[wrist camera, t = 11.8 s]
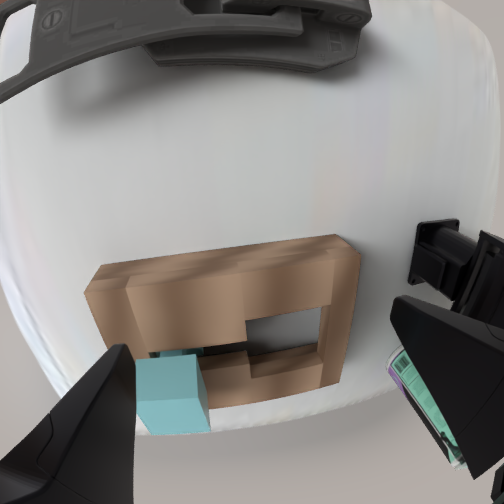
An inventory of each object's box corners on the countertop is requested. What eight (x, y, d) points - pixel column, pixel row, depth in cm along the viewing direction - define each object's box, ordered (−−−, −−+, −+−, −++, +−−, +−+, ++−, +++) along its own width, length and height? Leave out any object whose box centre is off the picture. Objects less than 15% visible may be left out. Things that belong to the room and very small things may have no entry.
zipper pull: (-23, 11, 3) (380, -50, 7) (22, 30, 9) (336, -16, 13) (-37, 133, 7) (409, 62, 10) (19, 128, 13) (352, 77, 16)
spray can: (380, 376, 31) (455, 491, 13) (392, 346, 28) (484, 471, 10) (411, 364, 31) (486, 465, 13) (423, 335, 29) (513, 441, 11)
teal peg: (194, 305, 21) (197, 397, 13) (202, 343, 23) (210, 431, 15) (146, 311, 21) (129, 401, 13) (158, 347, 22) (151, 434, 14)
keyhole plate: (335, 234, 21) (361, 254, 17) (323, 355, 26) (339, 382, 23) (101, 264, 18) (83, 292, 15) (146, 382, 24) (143, 413, 20)
